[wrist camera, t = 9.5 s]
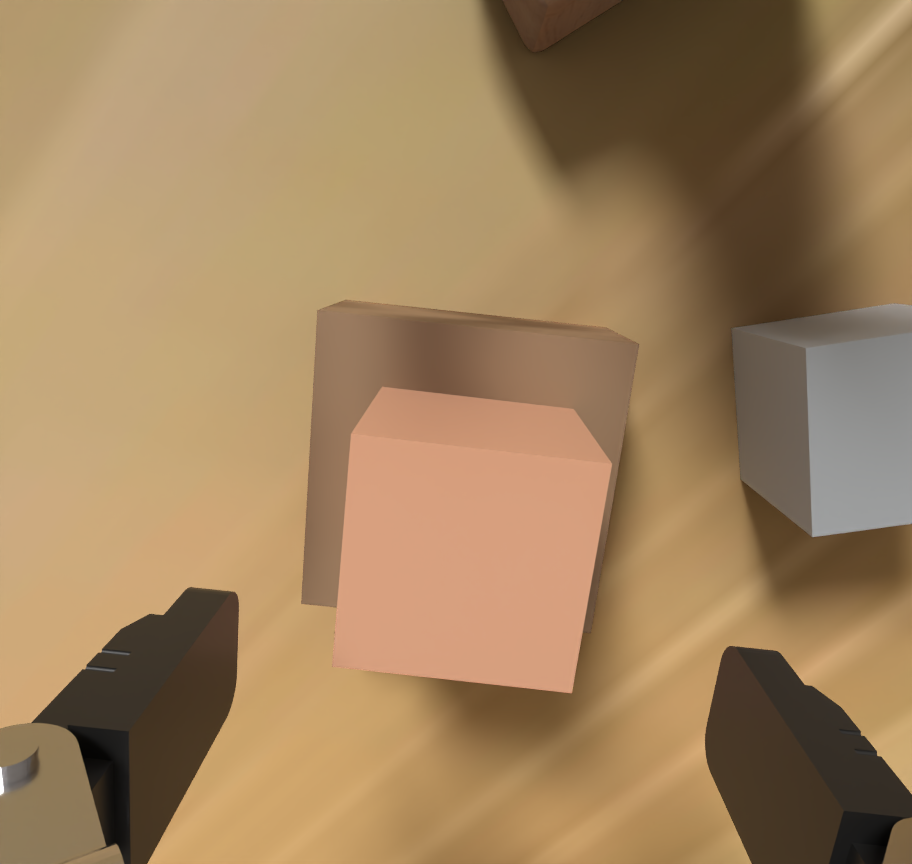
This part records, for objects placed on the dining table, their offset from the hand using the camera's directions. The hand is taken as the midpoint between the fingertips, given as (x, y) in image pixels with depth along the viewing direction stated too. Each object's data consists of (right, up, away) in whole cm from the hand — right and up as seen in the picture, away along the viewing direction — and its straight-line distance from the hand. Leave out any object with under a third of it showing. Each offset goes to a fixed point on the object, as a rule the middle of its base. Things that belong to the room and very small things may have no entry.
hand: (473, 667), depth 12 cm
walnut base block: (0, +4, +14) cm, 14 cm away
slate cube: (+12, +5, +13) cm, 19 cm away
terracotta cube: (0, +2, +9) cm, 9 cm away
